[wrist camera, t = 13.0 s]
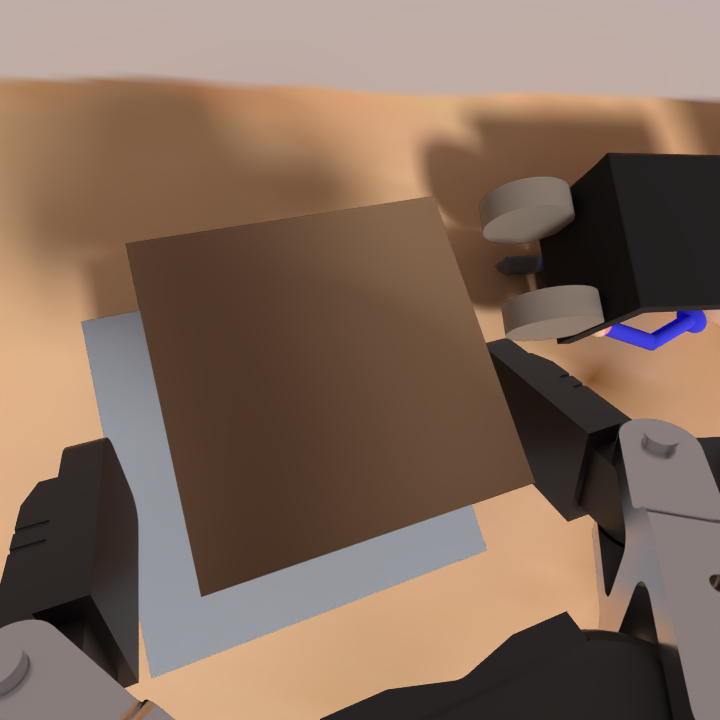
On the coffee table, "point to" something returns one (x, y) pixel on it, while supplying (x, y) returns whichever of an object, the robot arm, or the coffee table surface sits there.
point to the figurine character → (613, 248)
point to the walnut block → (320, 384)
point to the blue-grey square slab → (171, 543)
